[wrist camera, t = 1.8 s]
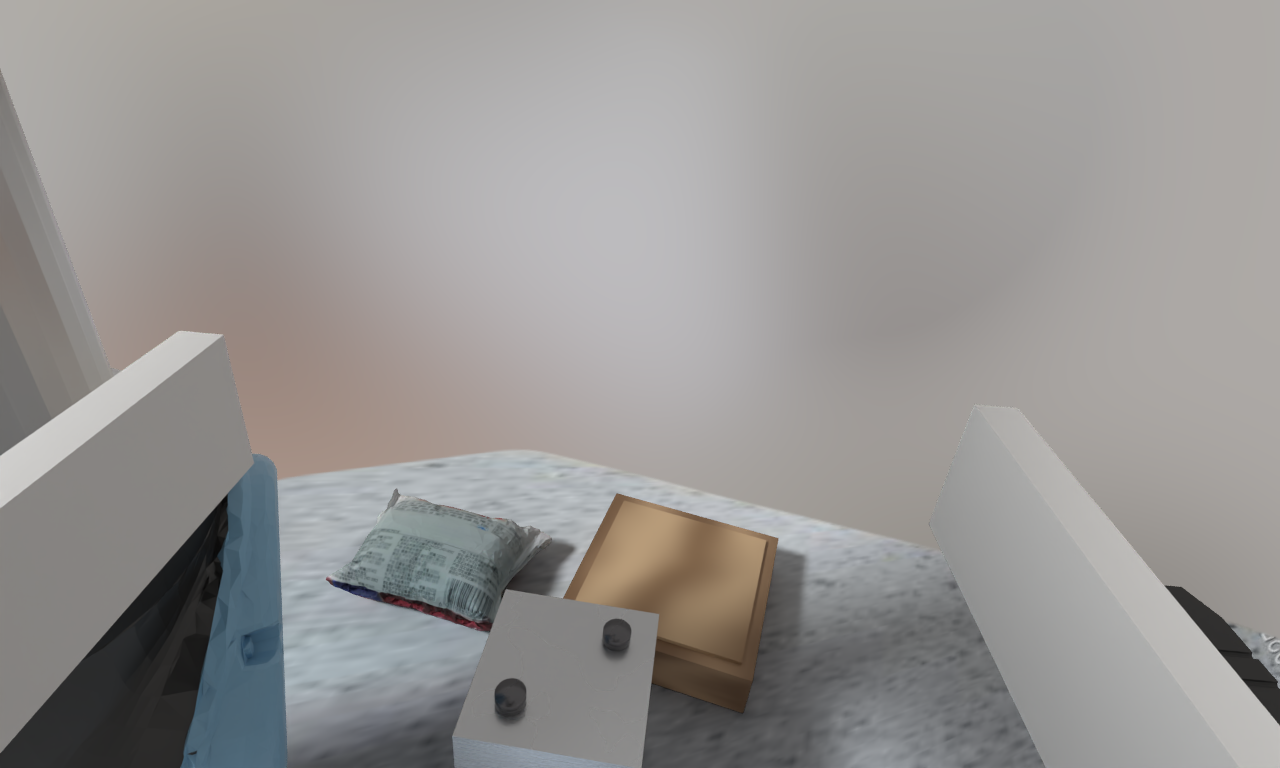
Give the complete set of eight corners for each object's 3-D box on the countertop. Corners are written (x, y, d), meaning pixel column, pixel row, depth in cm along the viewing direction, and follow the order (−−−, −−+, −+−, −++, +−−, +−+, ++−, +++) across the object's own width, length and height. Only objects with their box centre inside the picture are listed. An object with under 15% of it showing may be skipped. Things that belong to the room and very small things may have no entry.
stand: (551, 649, 43) (553, 614, 41) (613, 523, 53) (616, 490, 51) (743, 713, 40) (753, 678, 39) (770, 568, 50) (779, 535, 49)
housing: (463, 887, 32) (451, 726, 25) (506, 741, 38) (505, 579, 31) (614, 915, 31) (643, 759, 25) (633, 763, 37) (660, 605, 31)
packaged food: (401, 516, 51) (394, 464, 49) (552, 557, 49) (554, 505, 47) (327, 607, 44) (315, 552, 41) (502, 658, 42) (501, 604, 40)
